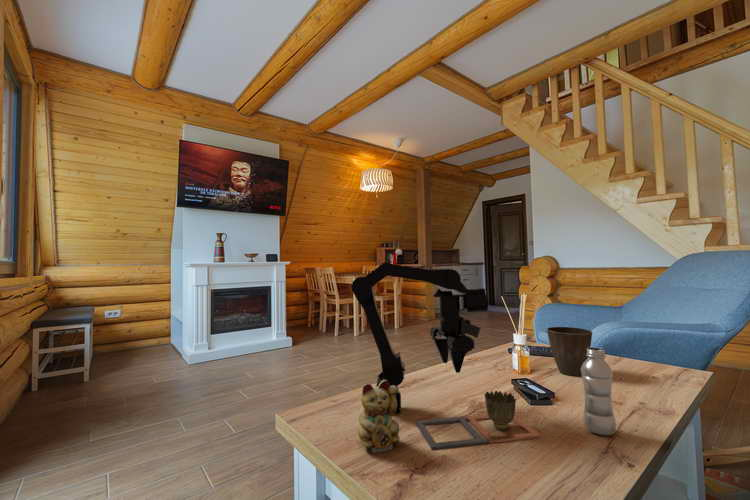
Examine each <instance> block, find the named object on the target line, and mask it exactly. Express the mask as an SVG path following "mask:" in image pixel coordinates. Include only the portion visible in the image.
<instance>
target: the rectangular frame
mask: <svg viewBox="0 0 750 500" xmlns="http://www.w3.org/2000/svg"><path fill="white" fill-rule="evenodd" d="M481 420H491V419H490V418H489V416H488V413H484V414H474V415H473V414H472V415H464V416H463V415H462V416H454V417H453V416H451V417H444V418H433V419H421V420H420V419H419V420H415V425H416V426H417V429H418V430H419V431H420V433H421V435H422V436H423V438H424V440H425V441H426V443H427V444H428V446H429V448H430V449H431V450H432V451H433V450H440V449H441V450H442V449H450V448H451V449H452V448H459V447H460V448H462V447H467V446H468V447H469V446H480V445H487V444H495V443H496V444H497V443H504V442H505V443H506V442H513V441H524V440H533V439H541V438H542V437H541V436H542V434H540V433H539V432H537V431H536V430H535V429H533V428H532V426H531V427H530V426H529V425H528V424H527V423H525V422H524V421H523V420H522V419H520V418H519V417H518V416H517V415H515V414H514V418H513V420H512V421H513V422H514V423H515V424H516V425H518V426H519V427H520V428H521V429H523V430H524V431H525V433H515V434H503V435H497V436H496V435H495V436H493V435H491V434H490V433H489V432H488V431H487V430H486V429H485V428H484V427H483V426H482V425H481V424H480V423H479V422H478V421H481ZM451 423H452V424H453V423H460V425H461V426H462V427H463V428H464V429H465V430H466V431H467V432H468V433H469V434H470V435H471V437H472V438H469V439H459V440H449V441H441V442H439V441H438V442H436V441H435V439H434V438H433V436H432V435H431V433H430V432H429V430H428V429H427V428H426V426H428V425H429V426H430V425H432V426H433V425H440V424H451ZM479 433H480V434H479Z"/></svg>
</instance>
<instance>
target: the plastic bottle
mask: <svg viewBox="0 0 750 500" xmlns="http://www.w3.org/2000/svg"><path fill="white" fill-rule="evenodd" d="M586 355H587V356H588V358H587V360H586V361H585V362H584V363H583V364H582V366H581V373H582V375H581V377H582V382H583V390H584V410H583V417H582V419H583V423H584V426H585V428H586V429H587V431H590V432H591V433H593V434H596V435H600V436H612V435H614V433H615V432H616V429H617V422H616V417H615V415H614V409H613V402H612V385H613V376H614V373H613V370H612V367H610V365H609V364H608V362H607V361H606V360H605V359H606V351H605V349H604V348H600V347H590V348H587V354H586Z"/></svg>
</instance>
